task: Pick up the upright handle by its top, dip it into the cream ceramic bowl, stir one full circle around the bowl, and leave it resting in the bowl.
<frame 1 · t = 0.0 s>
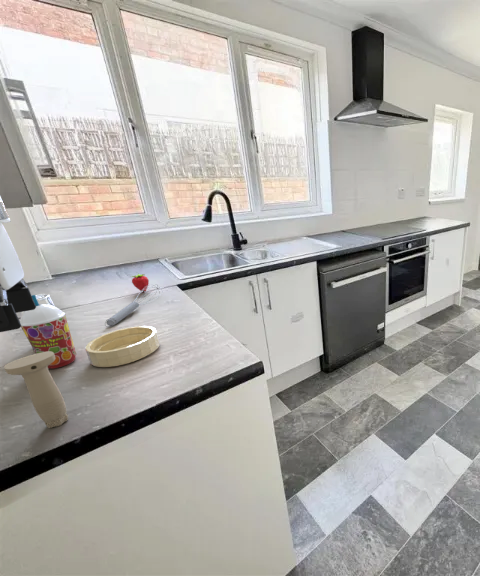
hand: (15, 320, 51), 25 cm above the countertop, tool pointing down, fingers open, 9 cm apart
handle: (58, 423, 64), on the countertop
bowl: (127, 353, 89), on the countertop
kitchen whisk: (138, 310, 121), on the countertop
strawberry: (143, 292, 140), on the countertop
smoothie: (61, 363, 85), on the countertop
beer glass: (52, 342, 96), on the countertop
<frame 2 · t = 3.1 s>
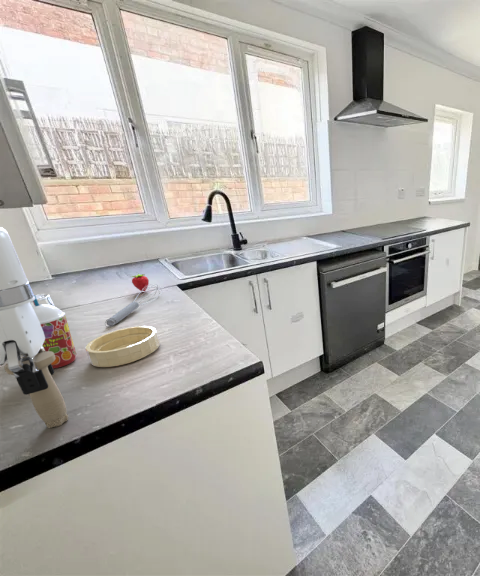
hand: (40, 382, 60), 10 cm above the countertop, tool pointing down, fingers closed on handle, 5 cm apart
handle: (58, 423, 64), on the countertop, touching gripper
everything else where it was.
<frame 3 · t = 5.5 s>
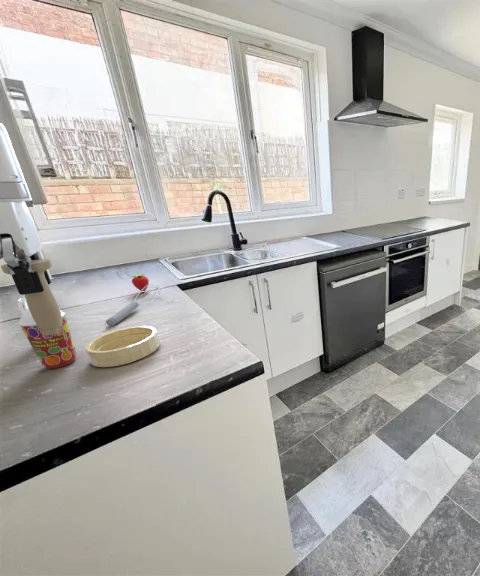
hand: (36, 288, 61), 27 cm above the countertop, tool pointing down, fingers closed on handle, 5 cm apart
handle: (54, 333, 64), point 17 cm above the countertop, touching gripper
everything else where it was.
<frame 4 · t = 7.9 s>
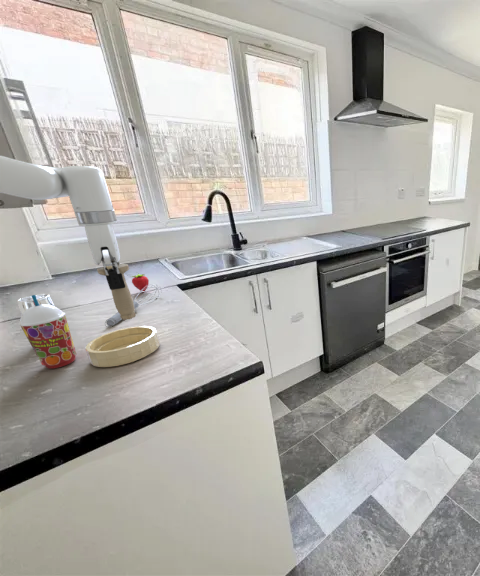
hand: (118, 285, 84), 20 cm above the countertop, tool pointing down, fingers closed on handle, 5 cm apart
handle: (129, 318, 87), point 10 cm above the countertop, touching gripper
everything else where it was.
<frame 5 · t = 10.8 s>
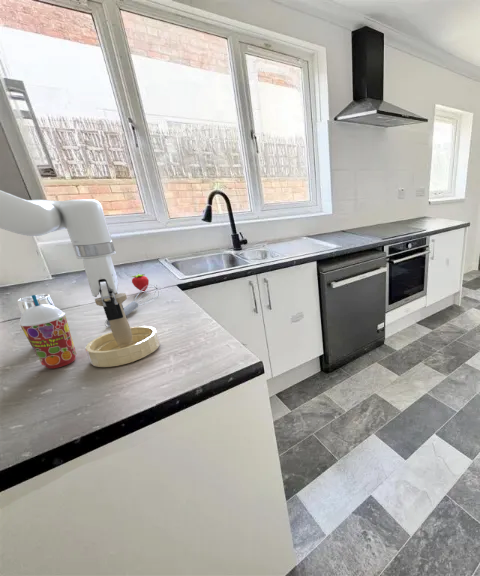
hand: (116, 314, 84), 13 cm above the countertop, tool pointing down, fingers closed on handle, 5 cm apart
handle: (126, 347, 87), point 3 cm above the countertop, touching gripper
everything else where it was.
when the fingers open (10 cm above the countertop, at t = 12.9 s): handle stays where it is, resting on bowl.
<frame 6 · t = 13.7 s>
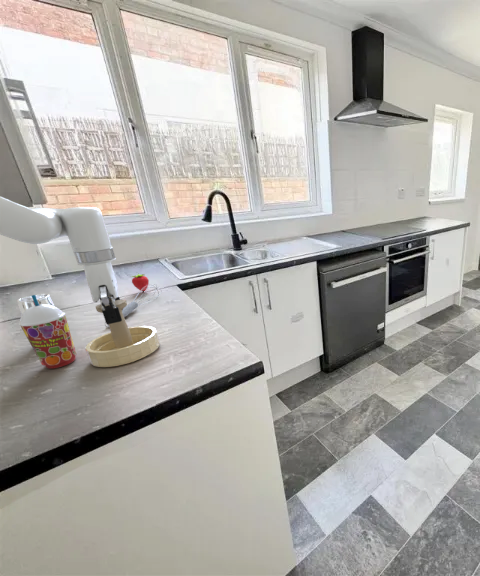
hand: (115, 316, 85), 12 cm above the countertop, tool pointing down, fingers open, 9 cm apart
handle: (127, 352, 89), resting on bowl
everything else where it was.
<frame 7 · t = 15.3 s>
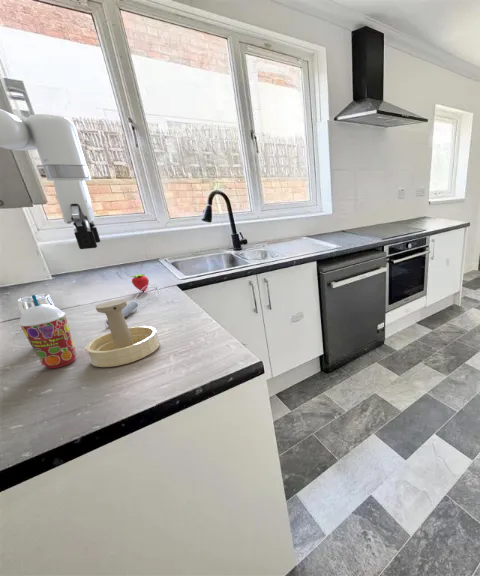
hand: (90, 245, 79), 32 cm above the countertop, tool pointing down, fingers open, 9 cm apart
nothing on the countertop moved.
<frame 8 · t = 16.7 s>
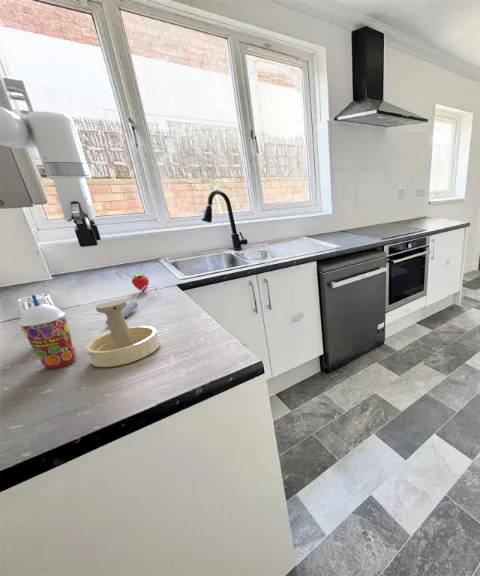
hand: (91, 243, 79), 32 cm above the countertop, tool pointing down, fingers open, 9 cm apart
nothing on the countertop moved.
at the end: handle inside the target area in the bowl (0.1 cm from its centre), point 0.4 cm above the bowl's base; handle moved 28.2 cm from its start; the gripper is holding nothing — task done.
